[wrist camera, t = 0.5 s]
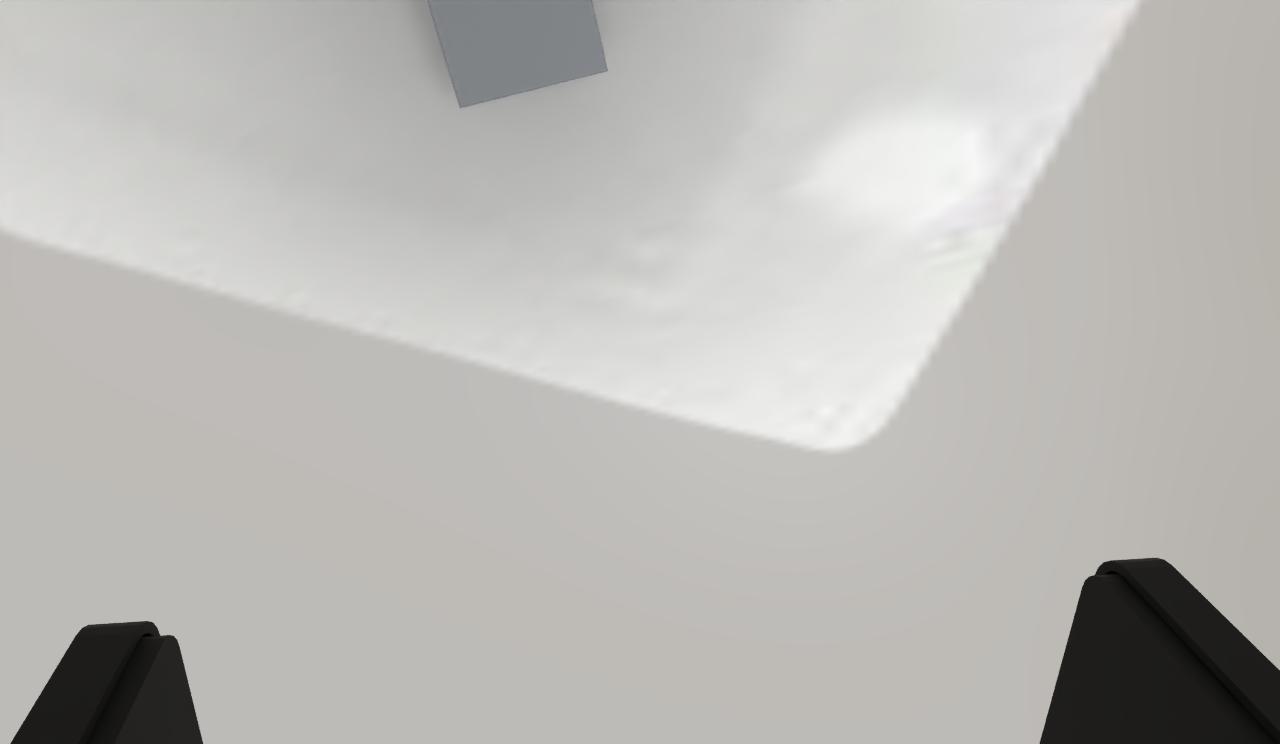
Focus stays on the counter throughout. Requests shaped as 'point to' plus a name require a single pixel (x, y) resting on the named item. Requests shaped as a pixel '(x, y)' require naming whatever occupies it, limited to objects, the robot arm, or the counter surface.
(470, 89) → the slate-grey block
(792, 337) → the counter surface
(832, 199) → the counter surface
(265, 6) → the counter surface
